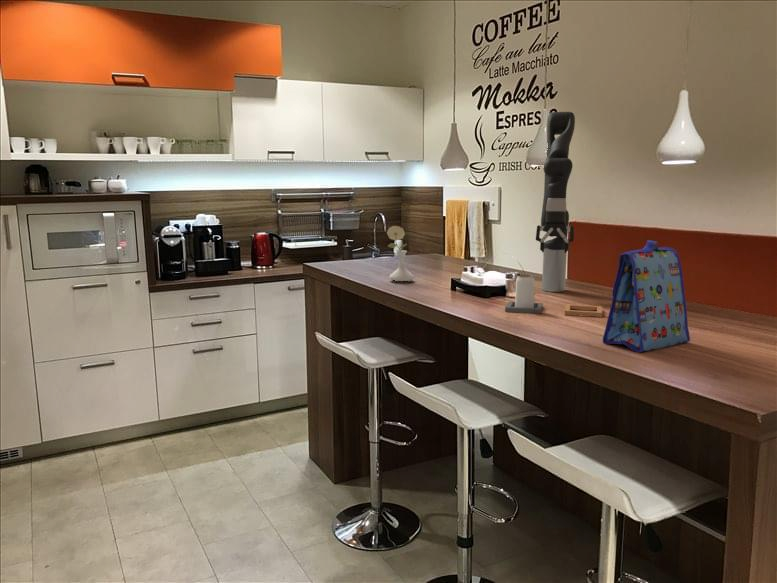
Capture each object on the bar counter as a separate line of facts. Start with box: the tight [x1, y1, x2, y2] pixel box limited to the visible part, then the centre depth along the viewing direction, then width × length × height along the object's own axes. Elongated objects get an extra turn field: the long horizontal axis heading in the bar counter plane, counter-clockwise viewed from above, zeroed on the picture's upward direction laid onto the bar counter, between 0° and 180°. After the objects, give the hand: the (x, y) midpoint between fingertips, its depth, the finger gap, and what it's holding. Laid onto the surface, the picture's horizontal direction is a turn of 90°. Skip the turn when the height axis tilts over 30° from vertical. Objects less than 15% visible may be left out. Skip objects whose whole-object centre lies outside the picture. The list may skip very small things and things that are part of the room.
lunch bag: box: [602, 239, 691, 353], centre depth 179 cm, size 22×14×29 cm, turn 123°
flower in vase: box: [386, 225, 415, 282], centre depth 288 cm, size 13×11×25 cm
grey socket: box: [504, 300, 544, 314], centre depth 229 cm, size 12×12×2 cm
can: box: [514, 274, 536, 308], centre depth 228 cm, size 6×6×12 cm
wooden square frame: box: [564, 303, 603, 318], centre depth 223 cm, size 12×12×2 cm
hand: (554, 252), depth 252 cm, fingers open, 8 cm apart
